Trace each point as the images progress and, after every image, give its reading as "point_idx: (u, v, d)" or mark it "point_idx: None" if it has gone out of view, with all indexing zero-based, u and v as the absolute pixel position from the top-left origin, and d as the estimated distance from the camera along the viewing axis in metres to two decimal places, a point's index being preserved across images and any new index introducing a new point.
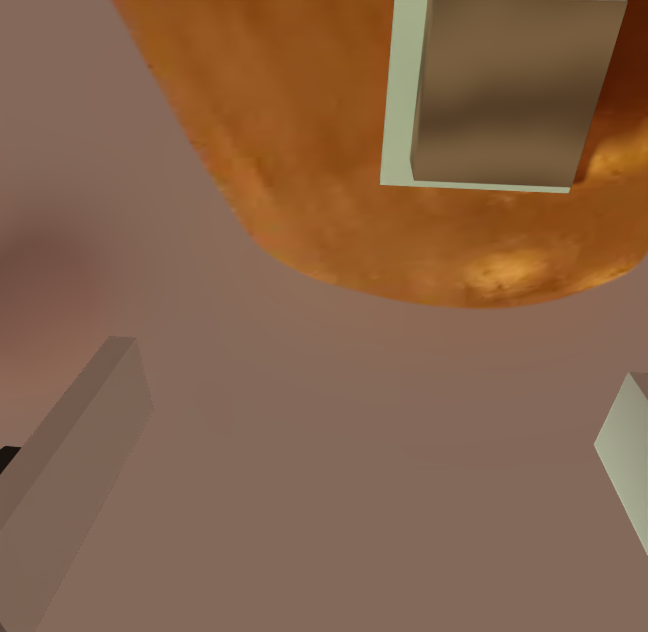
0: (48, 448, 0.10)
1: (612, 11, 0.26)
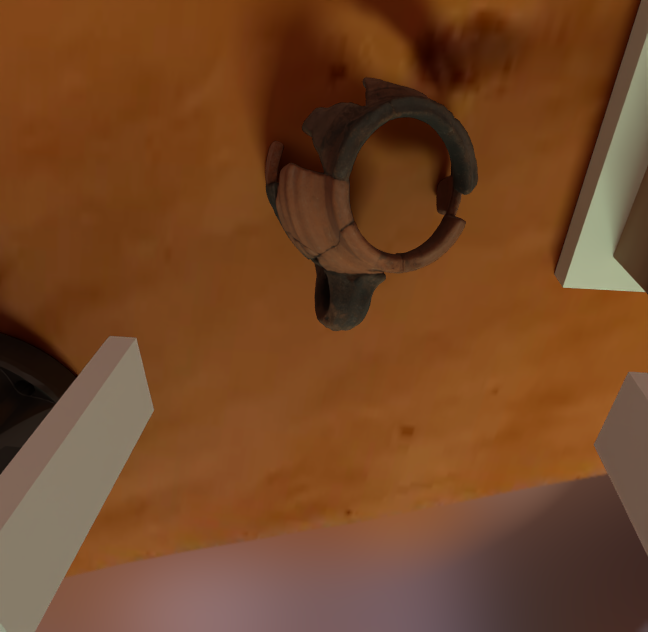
0: (48, 448, 0.10)
1: None
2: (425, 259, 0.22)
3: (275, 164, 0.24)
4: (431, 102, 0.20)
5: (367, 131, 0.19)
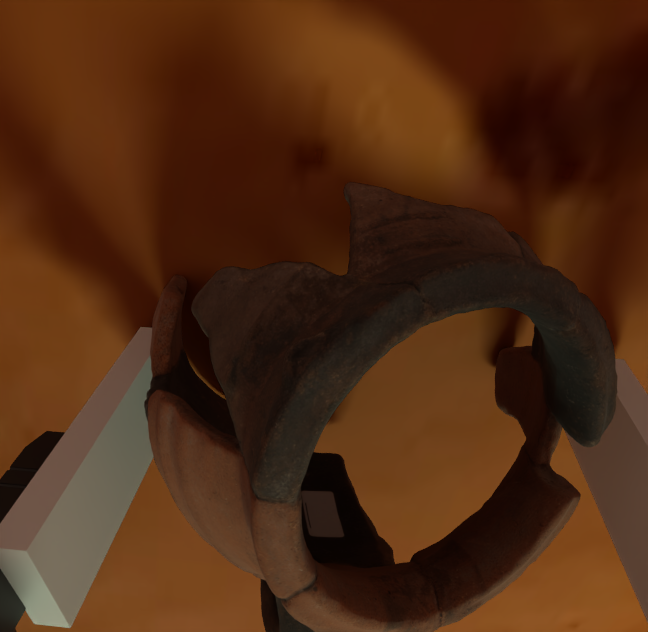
0: (91, 432, 0.10)
1: None
2: (491, 592, 0.09)
3: (165, 339, 0.11)
4: (528, 269, 0.07)
5: (350, 376, 0.06)
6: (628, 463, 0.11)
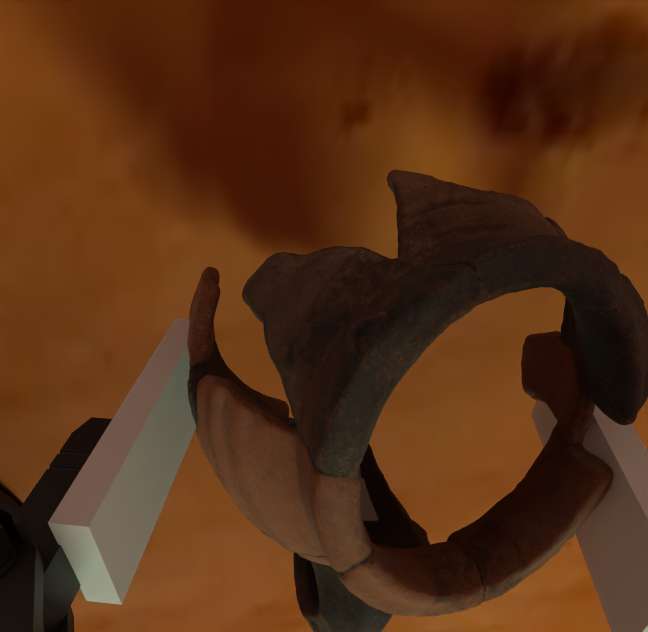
0: (138, 417, 0.11)
1: None
2: (531, 568, 0.10)
3: (203, 328, 0.11)
4: (575, 250, 0.07)
5: (411, 352, 0.07)
6: (583, 441, 0.11)
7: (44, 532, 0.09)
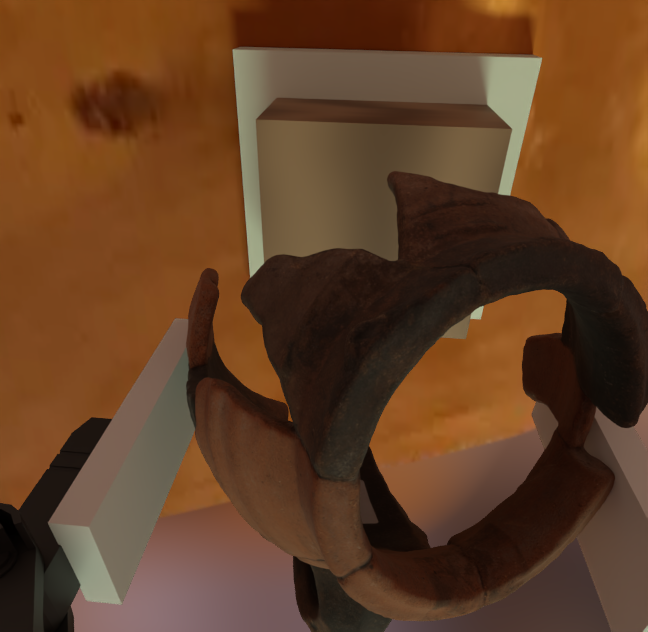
0: (138, 417, 0.11)
1: (268, 136, 0.20)
2: (532, 572, 0.10)
3: (202, 330, 0.11)
4: (576, 252, 0.07)
5: (411, 356, 0.07)
6: None
7: (44, 532, 0.09)
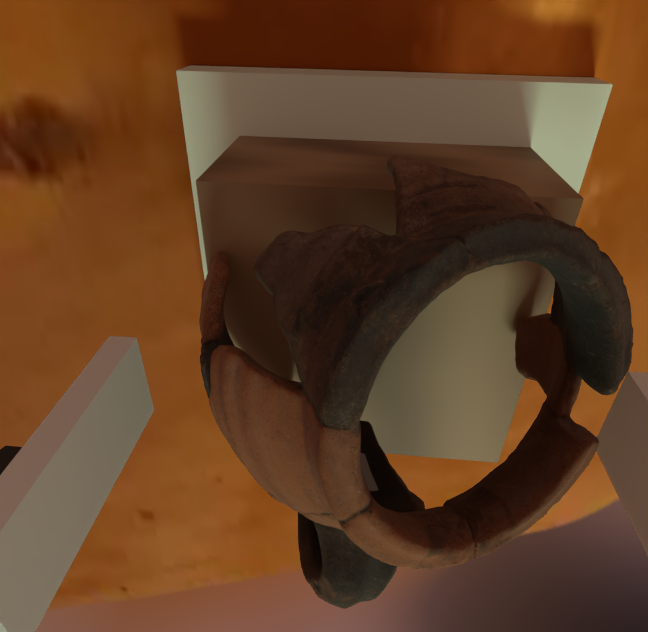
0: (49, 448, 0.10)
1: (215, 204, 0.13)
2: (519, 528, 0.10)
3: (214, 307, 0.12)
4: (556, 227, 0.08)
5: (406, 316, 0.07)
6: None
7: None
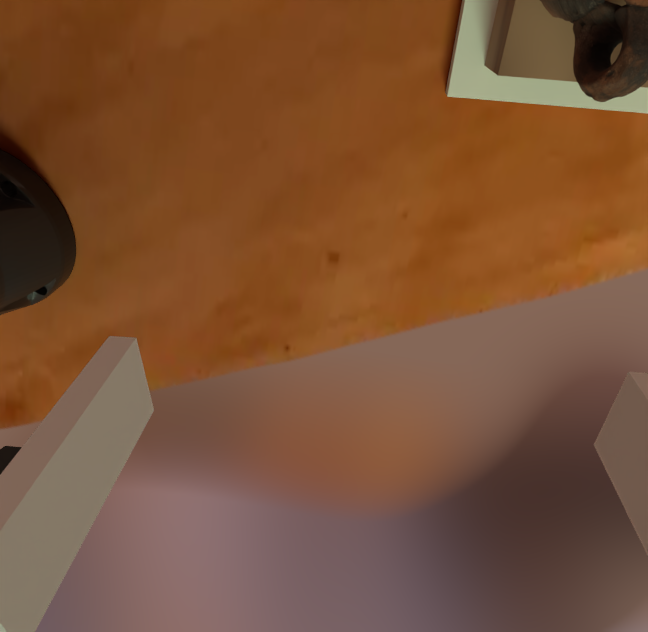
0: (48, 448, 0.10)
1: None
2: None
3: None
4: None
5: None
6: None
7: None
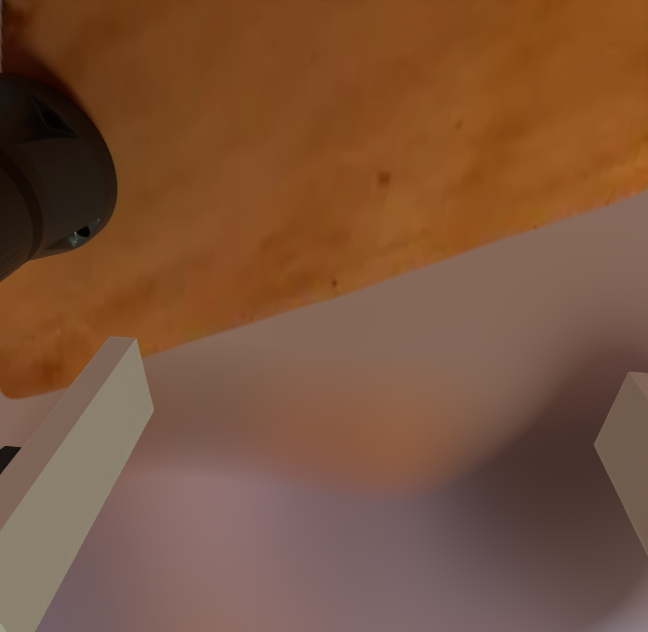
0: (48, 448, 0.10)
1: None
2: None
3: None
4: None
5: None
6: None
7: None
